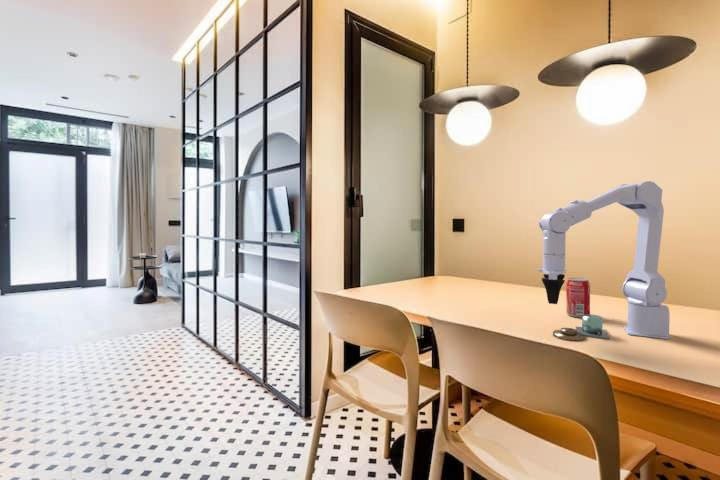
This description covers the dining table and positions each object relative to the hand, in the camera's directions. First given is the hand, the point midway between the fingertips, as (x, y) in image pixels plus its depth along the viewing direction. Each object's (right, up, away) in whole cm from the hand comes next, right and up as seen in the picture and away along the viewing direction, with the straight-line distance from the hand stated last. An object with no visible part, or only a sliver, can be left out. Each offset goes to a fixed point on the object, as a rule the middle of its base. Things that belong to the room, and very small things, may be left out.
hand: (553, 300), depth 106 cm
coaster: (+12, -10, +2) cm, 16 cm away
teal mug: (+12, -9, +2) cm, 16 cm away
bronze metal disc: (+4, -10, 0) cm, 11 cm away
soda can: (+20, -9, +22) cm, 31 cm away
